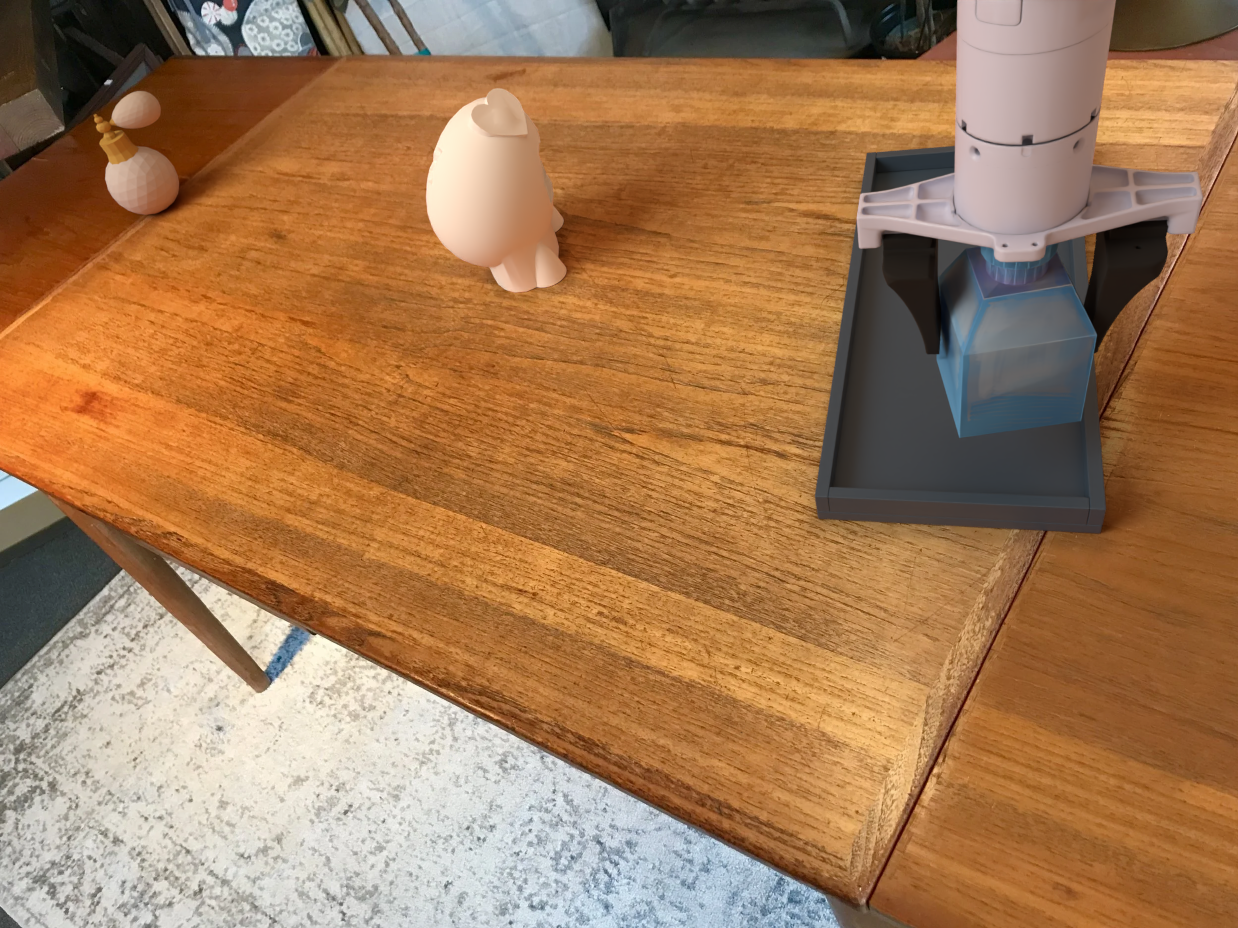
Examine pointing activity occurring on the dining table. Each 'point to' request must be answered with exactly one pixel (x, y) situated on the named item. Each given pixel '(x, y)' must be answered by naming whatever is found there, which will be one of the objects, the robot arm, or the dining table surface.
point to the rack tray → (940, 411)
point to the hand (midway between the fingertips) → (1008, 340)
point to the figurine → (496, 194)
